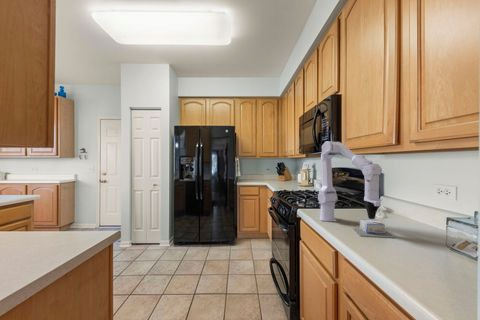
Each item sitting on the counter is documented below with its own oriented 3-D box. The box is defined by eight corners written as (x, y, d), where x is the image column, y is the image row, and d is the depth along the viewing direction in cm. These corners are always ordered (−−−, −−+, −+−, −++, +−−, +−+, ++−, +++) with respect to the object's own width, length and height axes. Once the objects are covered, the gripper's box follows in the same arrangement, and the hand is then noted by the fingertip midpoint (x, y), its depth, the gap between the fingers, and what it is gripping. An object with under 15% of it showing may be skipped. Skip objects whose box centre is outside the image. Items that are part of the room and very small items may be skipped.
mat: (352, 228, 115) (352, 228, 115) (384, 230, 112) (384, 229, 112) (360, 236, 104) (360, 235, 104) (394, 238, 101) (394, 237, 101)
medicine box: (376, 219, 114) (385, 224, 105) (376, 228, 114) (385, 234, 105) (359, 219, 115) (367, 223, 106) (359, 228, 115) (367, 233, 106)
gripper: (387, 192, 101) (387, 223, 101) (374, 188, 116) (374, 215, 116) (370, 191, 103) (370, 222, 103) (359, 187, 117) (359, 214, 117)
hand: (371, 218), depth 109 cm, fingers closed
